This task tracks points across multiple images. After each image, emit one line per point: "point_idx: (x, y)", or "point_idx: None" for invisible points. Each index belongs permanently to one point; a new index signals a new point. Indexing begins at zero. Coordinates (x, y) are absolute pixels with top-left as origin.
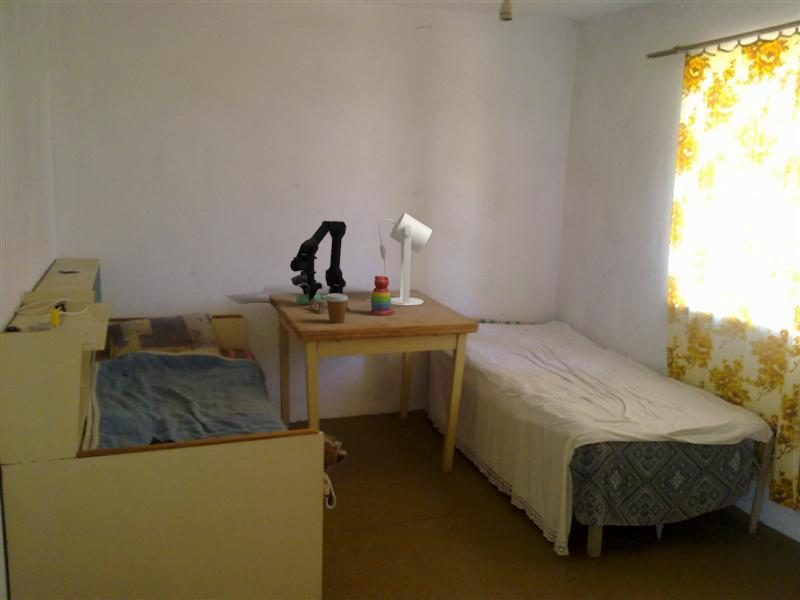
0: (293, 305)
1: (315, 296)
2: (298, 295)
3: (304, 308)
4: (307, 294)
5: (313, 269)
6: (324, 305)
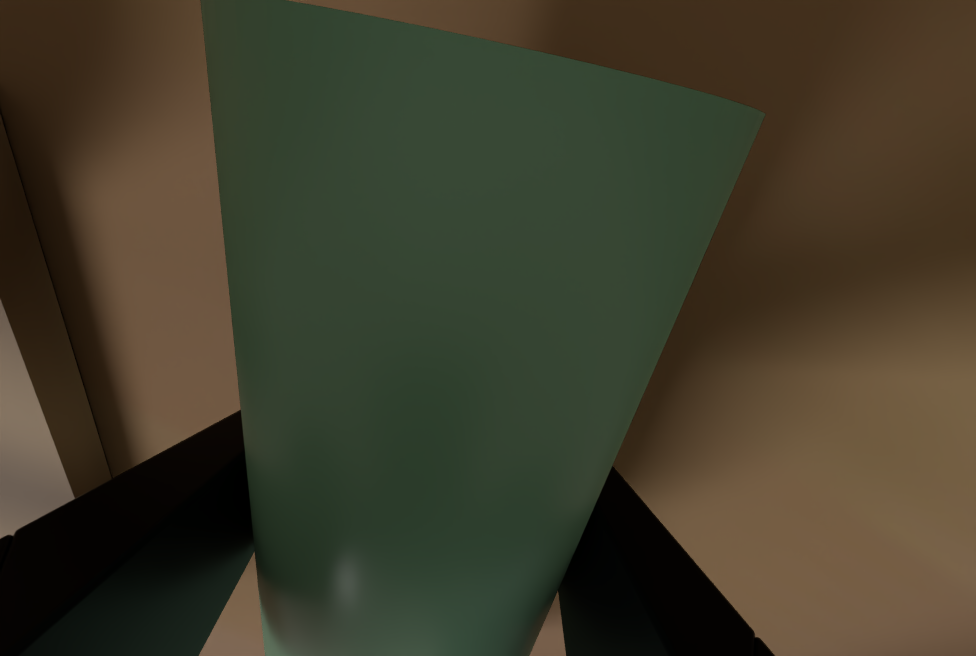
0: (715, 27)
1: (266, 654)
2: (407, 25)
3: (131, 48)
4: (350, 602)
5: None
6: (70, 493)
